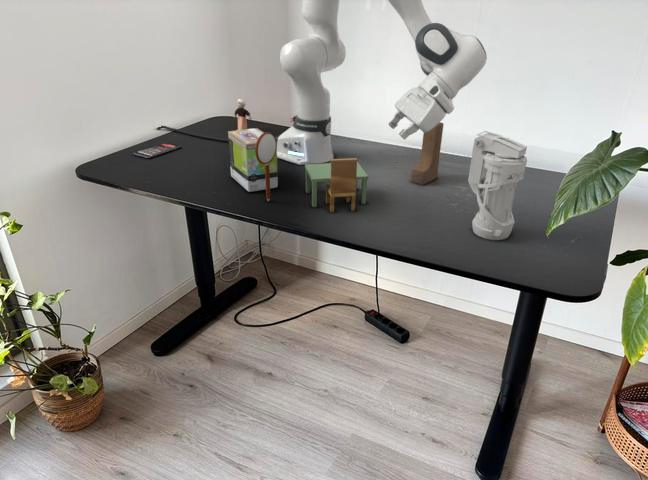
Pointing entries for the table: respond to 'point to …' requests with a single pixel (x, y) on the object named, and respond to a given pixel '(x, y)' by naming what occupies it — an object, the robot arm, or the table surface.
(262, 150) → the magnifying glass
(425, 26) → the robot arm
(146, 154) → the smartphone
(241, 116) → the grandmother figurine
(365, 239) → the table surface
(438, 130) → the wooden block
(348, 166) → the chair
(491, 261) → the table surface
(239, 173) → the tea box
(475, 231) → the grey mechanical canister
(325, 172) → the side table
